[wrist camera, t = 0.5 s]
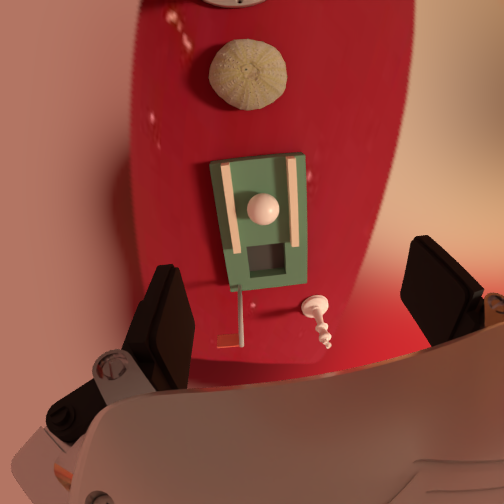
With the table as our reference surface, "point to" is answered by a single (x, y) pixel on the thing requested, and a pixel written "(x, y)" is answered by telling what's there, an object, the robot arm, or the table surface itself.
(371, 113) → the table surface
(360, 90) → the table surface
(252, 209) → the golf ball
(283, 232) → the mat
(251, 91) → the sea urchin shell
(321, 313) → the chess piece
